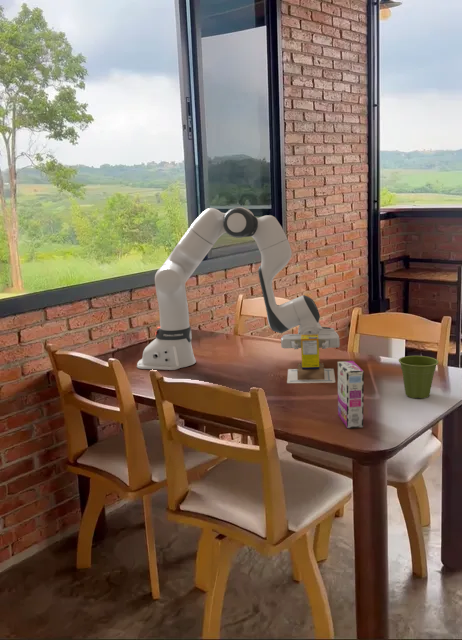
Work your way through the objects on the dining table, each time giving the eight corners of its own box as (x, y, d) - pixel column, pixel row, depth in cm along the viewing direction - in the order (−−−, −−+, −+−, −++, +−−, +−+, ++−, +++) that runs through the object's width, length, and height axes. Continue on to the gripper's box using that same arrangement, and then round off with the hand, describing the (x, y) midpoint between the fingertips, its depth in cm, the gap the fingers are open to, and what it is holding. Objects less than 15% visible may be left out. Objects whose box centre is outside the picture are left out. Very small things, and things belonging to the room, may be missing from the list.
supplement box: (319, 364, 230) (318, 333, 228) (319, 369, 225) (318, 338, 222) (301, 364, 231) (301, 334, 229) (301, 369, 225) (301, 338, 223)
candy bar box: (364, 427, 183) (364, 370, 180) (347, 429, 183) (346, 372, 179) (354, 413, 194) (353, 359, 191) (337, 415, 194) (336, 361, 190)
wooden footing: (297, 379, 224) (297, 371, 224) (298, 371, 233) (297, 363, 233) (324, 379, 223) (324, 370, 223) (323, 371, 232) (323, 363, 232)
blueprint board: (287, 386, 222) (286, 382, 221) (288, 372, 237) (288, 368, 237) (335, 386, 220) (335, 382, 220) (333, 371, 235) (333, 368, 235)
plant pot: (431, 403, 199) (432, 367, 197) (393, 398, 205) (393, 363, 203) (442, 392, 209) (443, 357, 207) (405, 387, 215) (405, 353, 213)
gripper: (280, 328, 239) (279, 338, 226) (338, 327, 237) (340, 337, 223) (281, 345, 241) (279, 356, 227) (338, 344, 238) (340, 355, 225)
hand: (310, 346), depth 225 cm, fingers open, 8 cm apart
